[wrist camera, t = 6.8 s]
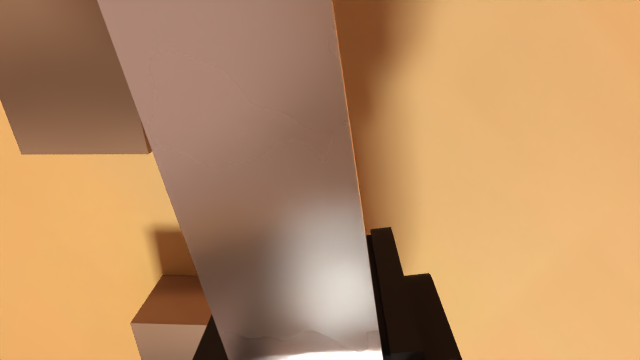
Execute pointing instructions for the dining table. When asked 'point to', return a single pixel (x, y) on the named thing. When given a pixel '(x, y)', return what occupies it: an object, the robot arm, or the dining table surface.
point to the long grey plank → (257, 167)
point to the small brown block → (172, 319)
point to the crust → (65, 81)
